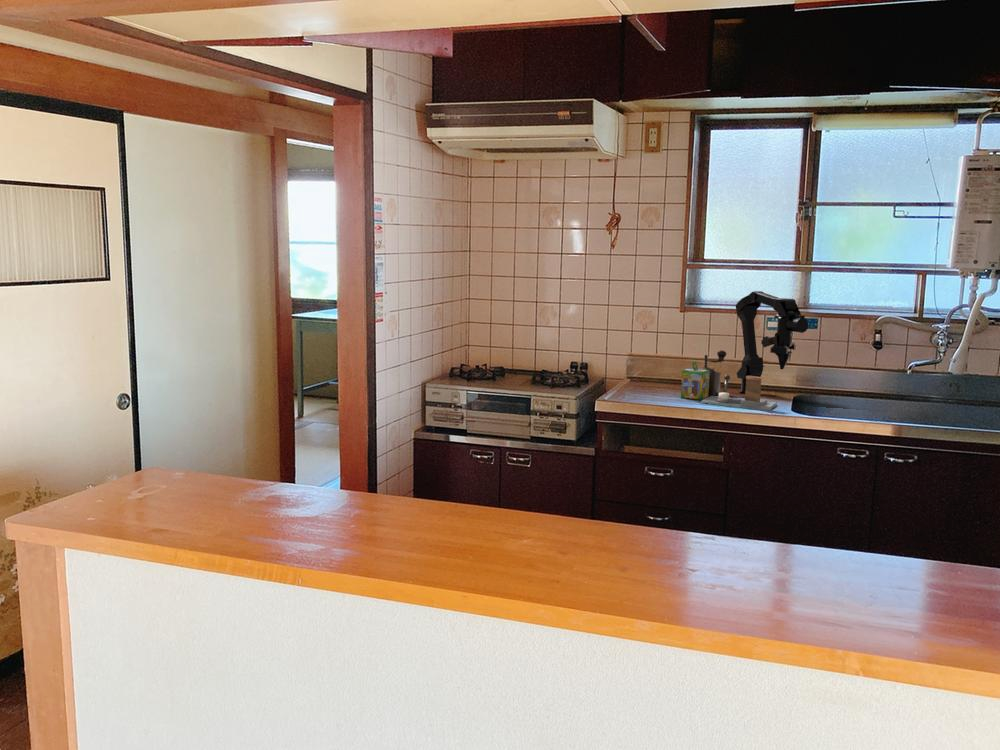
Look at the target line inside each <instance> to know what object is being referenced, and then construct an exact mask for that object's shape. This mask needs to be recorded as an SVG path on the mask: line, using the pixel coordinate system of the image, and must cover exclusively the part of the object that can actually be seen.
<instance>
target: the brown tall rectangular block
mask: <svg viewBox="0 0 1000 750" xmlns="http://www.w3.org/2000/svg"><path fill="white" fill-rule="evenodd" d="M762 379H763V378H762V376H761V377H754V376H747V377H746V391H745V393H744V399H745V400H746V401H755V402H759V403H760V401H761V391H762V389H761V388H762Z"/></svg>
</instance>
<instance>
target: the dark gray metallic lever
mask: <svg viewBox="0 0 1000 750" xmlns="http://www.w3.org/2000/svg"><path fill="white" fill-rule="evenodd" d="M730 379H731V376H730V375H729V374H726V375H724V386H723V391H722V392H724V393H727V389H728V383H729V381H730Z"/></svg>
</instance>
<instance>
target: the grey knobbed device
mask: <svg viewBox="0 0 1000 750" xmlns="http://www.w3.org/2000/svg"><path fill="white" fill-rule="evenodd" d="M716 355H717V356H718V358H717V360H712V359H711V360H710V359H708V356H709V355H708V354H705V355H704V359H703V360H704V367H701V368H699V369H703V370H710V375H709V395H708V396H714V395H716V396H719V393H721V378H722V377H721V376H722V371H715V370H714V369H715V368H714V367H713V368H711V367H708V363H713V364H714V363H716V364H717V363H722V362H725V357H726V356H727V352H726V351H725V350H717V352H716Z"/></svg>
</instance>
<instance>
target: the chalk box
mask: <svg viewBox="0 0 1000 750" xmlns="http://www.w3.org/2000/svg"><path fill="white" fill-rule="evenodd" d="M691 363H692V368H686V369H683V370H681V387H680V391H681V392H680V399H685V398H689V400H700V401H702V400H704V399H706V398H707V397H708V395H709V375H710V370H703V369H700V368H698V365H697V361H692V362H691Z"/></svg>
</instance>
